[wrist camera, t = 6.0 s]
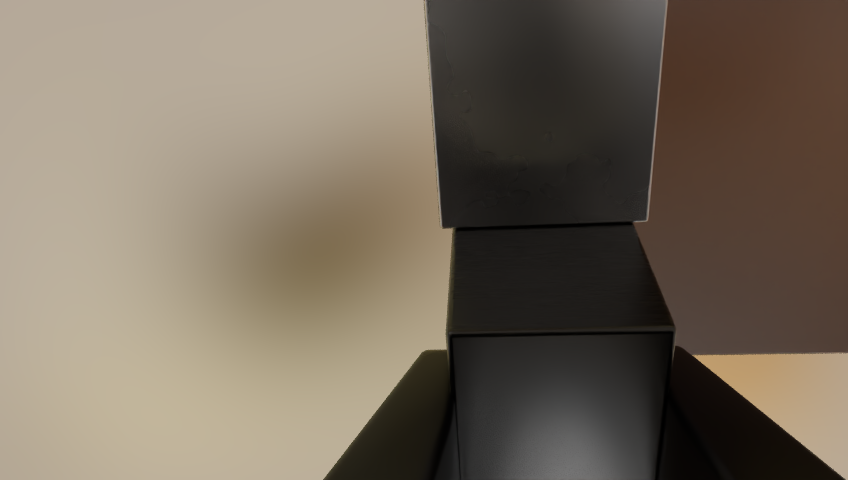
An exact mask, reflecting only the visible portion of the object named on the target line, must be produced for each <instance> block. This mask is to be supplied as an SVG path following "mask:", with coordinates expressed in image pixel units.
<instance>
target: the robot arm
mask: <svg viewBox="0 0 848 480" xmlns="http://www.w3.org/2000/svg"><path fill="white" fill-rule="evenodd" d="M323 480H460V472H459V458H458V443H457V429H456V414H455V402H454V399H453V398H452V396H451V394H450V385H449V371H448V358H447V350H426V351H424V352H422V353H421V355H420V356H419V357H418V358H417V360H416V361H415V362H414V364H413V365H412V366H411V368H410V369H409V370H408V371H407V373H406V374H405V375H404V377H403V378H402V379H401V380H400V382H399V383H398V384H397V386H396V387H395V388H394V389H393V391H392V392H391V393H390V395H389V396H388V397H387V398H386V400H385V401H384V402H383V404H382V405H381V406H380V407H379V409H378V410H377V411H376V413H375V414H374V415H373V416H372V418H371V419H370V420H369V422H368V423H367V424H366V425H365V427H364V428H363V429H362V431H361V432H360V433H359V434H358V436H357V437H356V438H355V440H354V441H353V442H352V443H351V445H350V446H349V447H348V449H347V450H346V451H345V452H344V454H343V455H342V456H341V458H340V459H339V460H338V461H337V463H336V464H335V465H334V467H333V468H332V469H331V471H330V472H329V473H328V474H327V476H326V477H325V478H324V479H323ZM657 480H845V479H844V478H843V477H842V476H841V475H839V474H838V473H837V472H836V471H834V470H833V469H832V468H831V467H829V466H828V465H827V464H826V463H824V462H823V461H822V460H821V459H819V458H818V457H817V456H816V455H815V454H813V453H812V452H811V451H810V450H808V449H807V448H806V447H805V446H803V445H802V444H801V443H800V442H799V441H797V440H796V439H795V438H794V437H792V436H791V435H790V434H788V433H787V432H786V431H785V430H783V429H782V428H781V427H780V426H779V425H777V424H776V423H775V422H774V421H773V420H771V419H770V418H769V417H768V416H766V415H765V414H764V413H763V412H761V411H760V410H759V409H758V408H756V407H755V406H754V405H753V404H752V403H750V402H749V401H748V400H747V399H745V398H744V397H743V396H742V395H740V394H739V393H738V392H737V391H735V390H734V389H733V388H732V387H731V386H729V385H728V384H727V383H726V382H724V381H723V380H722V379H721V378H720V377H718V376H717V375H716V374H714V373H713V372H712V371H711V370H710V369H708V368H707V367H706V366H705V365H703V364H702V363H701V362H700V361H698V360H697V359H696V358H695V357H694V356H692V355H691V354H690V353H689V352H687V351H686V350H685V349H683V348H682V347H680V346H675V349H674V357H673V365H672V373H671V381H670V389H669V395H668V398H667V402H666V410H665V418H664V426H663V435H662V443H661V451H660V459H659V468H658V476H657Z"/></svg>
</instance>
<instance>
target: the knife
mask: <svg viewBox="0 0 848 480" xmlns="http://www.w3.org/2000/svg"><path fill="white" fill-rule="evenodd" d="M667 6H668V0H424V9H425V24H426V38H427V52H428V66H429V80H430V94H431V107H432V122H433V135H434V150H435V164H436V176H437V177H436V178H437V192H438V206H439V219H440V227H441V228H443V229H444V228H453V234H452V250H451V264H450V279H449V293H448V310H447V324H446V343H447V358H448V371H449V385H450V394H451V396H452V398H453V399H454V402H455V414H456V429H457V443H458V458H459V472H460V480H657V476H658V468H659V459H660V451H661V443H662V435H663V426H664V418H665V410H666V402H667V398H668V395H669V389H670V381H671V373H672V365H673V357H674V349H675V340H676V332H677V329H676V326H675V324H674V322H673V319H672V317H671V314H670V312H669V309H668V307H667V304H666V302H665V300H664V297H663V295H662V292H661V290H660V287H659V285H658V282H657V280H656V277H655V275H654V273H653V270H652V268H651V265H650V263H649V260H648V258H647V255H646V253H645V250H644V248H643V246H642V243H641V241H640V238H639V236H638V233H637V231H636V228H635V226H634V223H633V222H646V221H648V217H649V206H650V195H651V184H652V173H653V162H654V151H655V139H656V128H657V117H658V106H659V95H660V84H661V73H662V62H663V50H664V39H665V28H666V17H667Z"/></svg>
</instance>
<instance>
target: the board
mask: <svg viewBox="0 0 848 480" xmlns="http://www.w3.org/2000/svg"><path fill="white" fill-rule="evenodd" d="M633 223H634V226H635V228H636V231H637V233H638V236H639V238H640V241H641V243H642V246H643V248H644V250H645V253H646V255H647V258H648V260H649V263H650V265H651V268H652V270H653V273H654V275H655V277H656V280H657V282H658V285H659V287H660V290H661V292H662V295H663V297H664V300H665V302H666V304H667V307H668V309H669V312H670V314H671V317H672V319H673V322H674V324H675V326H676V329H677V332H676V340H675V346H680V347H682V348H683V349H685V350H686V351H687V352H689V353H690V354H691V355H735V354H736V355H738V354H739V355H743V354H816V353H848V0H668V6H667V17H666V28H665V39H664V50H663V62H662V73H661V84H660V95H659V106H658V117H657V128H656V139H655V151H654V162H653V173H652V184H651V195H650V206H649V217H648V221H646V222H633Z"/></svg>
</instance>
